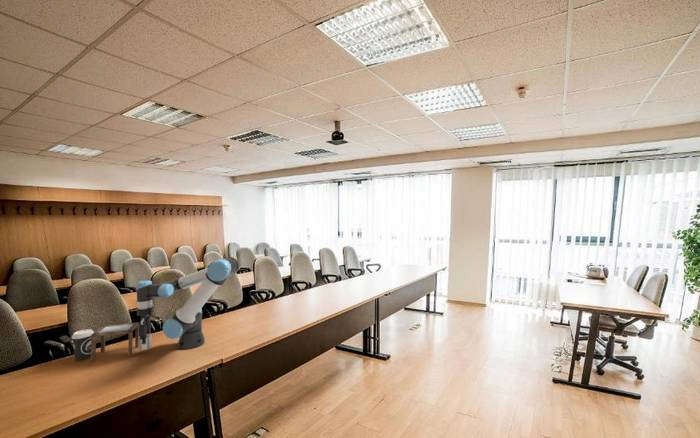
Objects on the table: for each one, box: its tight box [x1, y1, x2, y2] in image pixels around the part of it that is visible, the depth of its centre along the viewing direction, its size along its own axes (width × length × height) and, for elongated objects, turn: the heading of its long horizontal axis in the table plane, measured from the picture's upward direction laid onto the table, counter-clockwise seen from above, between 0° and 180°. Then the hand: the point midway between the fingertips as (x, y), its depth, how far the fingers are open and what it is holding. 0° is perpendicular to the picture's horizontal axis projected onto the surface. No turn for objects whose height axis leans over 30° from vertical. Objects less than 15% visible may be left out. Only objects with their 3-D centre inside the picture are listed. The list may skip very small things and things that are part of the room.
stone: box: [138, 333, 153, 351], centre depth 172 cm, size 5×5×7 cm
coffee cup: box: [71, 328, 95, 362], centre depth 166 cm, size 10×10×15 cm
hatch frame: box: [90, 321, 140, 363], centre depth 171 cm, size 18×14×15 cm
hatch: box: [99, 324, 134, 333], centre depth 171 cm, size 14×11×1 cm
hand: (145, 347), depth 172 cm, fingers closed on stone, 5 cm apart
